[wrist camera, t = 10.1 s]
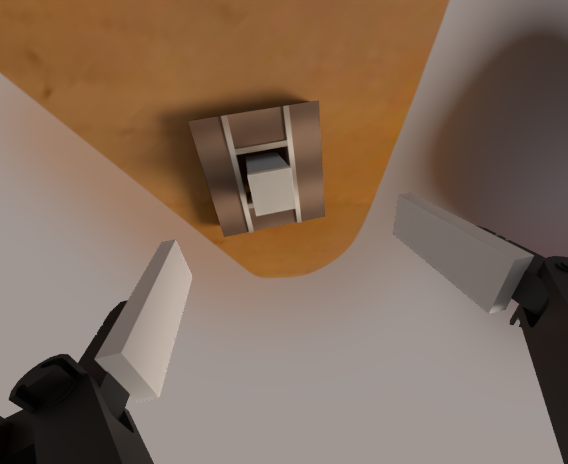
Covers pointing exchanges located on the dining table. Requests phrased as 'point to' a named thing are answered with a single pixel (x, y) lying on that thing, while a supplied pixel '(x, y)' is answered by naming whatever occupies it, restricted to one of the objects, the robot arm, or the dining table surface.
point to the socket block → (256, 137)
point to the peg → (270, 183)
